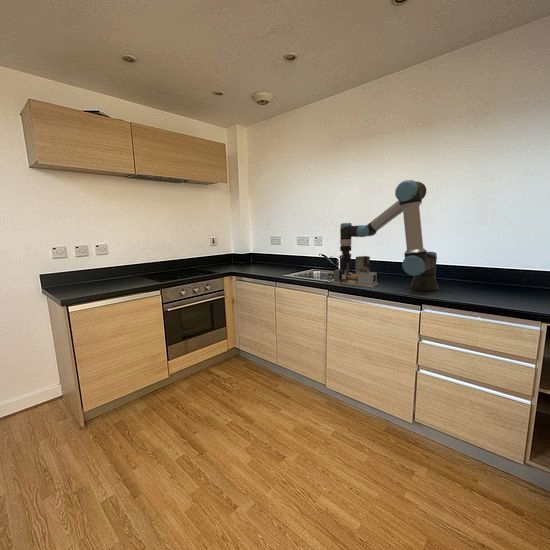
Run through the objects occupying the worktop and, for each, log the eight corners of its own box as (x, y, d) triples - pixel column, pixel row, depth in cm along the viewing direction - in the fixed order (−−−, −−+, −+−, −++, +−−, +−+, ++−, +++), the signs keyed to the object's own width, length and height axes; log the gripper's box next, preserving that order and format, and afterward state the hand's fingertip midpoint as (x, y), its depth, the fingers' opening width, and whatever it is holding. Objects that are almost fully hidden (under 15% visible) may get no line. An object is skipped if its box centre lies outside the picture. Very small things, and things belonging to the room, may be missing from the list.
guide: (378, 284, 193) (378, 272, 192) (372, 287, 186) (373, 274, 184) (338, 280, 213) (338, 269, 211) (331, 282, 205) (331, 271, 204)
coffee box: (364, 275, 228) (364, 255, 226) (369, 277, 222) (370, 256, 220) (354, 276, 225) (355, 256, 222) (360, 278, 219) (360, 257, 216)
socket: (343, 280, 208) (344, 269, 207) (339, 281, 203) (339, 270, 201) (339, 279, 211) (339, 269, 210) (333, 281, 205) (334, 270, 204)
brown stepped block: (363, 281, 196) (364, 263, 194) (361, 282, 194) (362, 263, 192) (340, 279, 208) (340, 261, 206) (337, 280, 205) (337, 262, 203)
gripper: (346, 244, 208) (345, 276, 212) (335, 246, 195) (334, 279, 199) (355, 244, 203) (355, 277, 207) (345, 246, 191) (344, 280, 194)
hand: (345, 278), depth 203 cm, fingers closed on brown stepped block, 4 cm apart
